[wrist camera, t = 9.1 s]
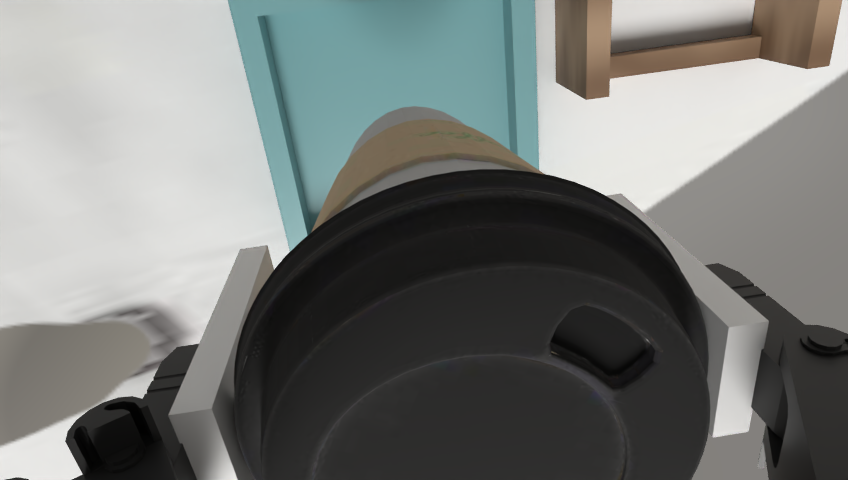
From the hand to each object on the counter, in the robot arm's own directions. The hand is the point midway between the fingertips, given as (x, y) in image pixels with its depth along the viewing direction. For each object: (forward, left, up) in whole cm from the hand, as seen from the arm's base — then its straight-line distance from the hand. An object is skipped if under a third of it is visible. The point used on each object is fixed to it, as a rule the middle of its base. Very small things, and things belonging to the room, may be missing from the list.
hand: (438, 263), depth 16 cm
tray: (0, 0, -19) cm, 19 cm away
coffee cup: (0, 0, -8) cm, 8 cm away
